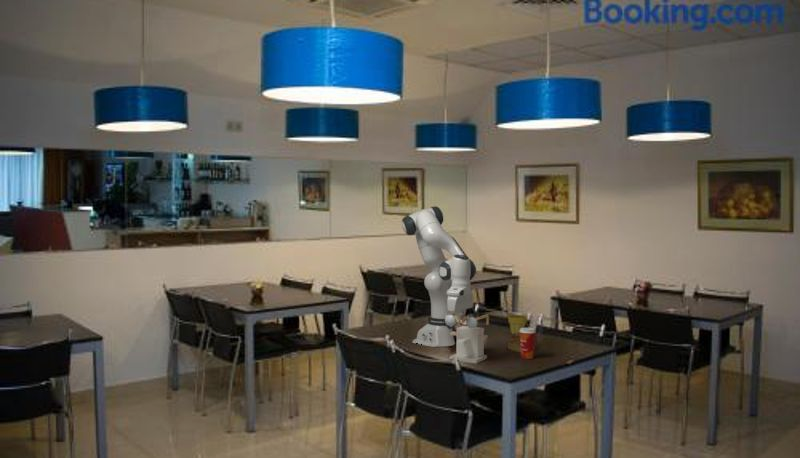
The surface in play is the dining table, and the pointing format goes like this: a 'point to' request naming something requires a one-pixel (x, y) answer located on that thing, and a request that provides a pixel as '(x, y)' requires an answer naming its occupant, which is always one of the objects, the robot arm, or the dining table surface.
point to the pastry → (515, 343)
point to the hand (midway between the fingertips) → (460, 319)
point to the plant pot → (516, 322)
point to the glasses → (470, 322)
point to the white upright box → (469, 344)
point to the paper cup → (527, 342)
